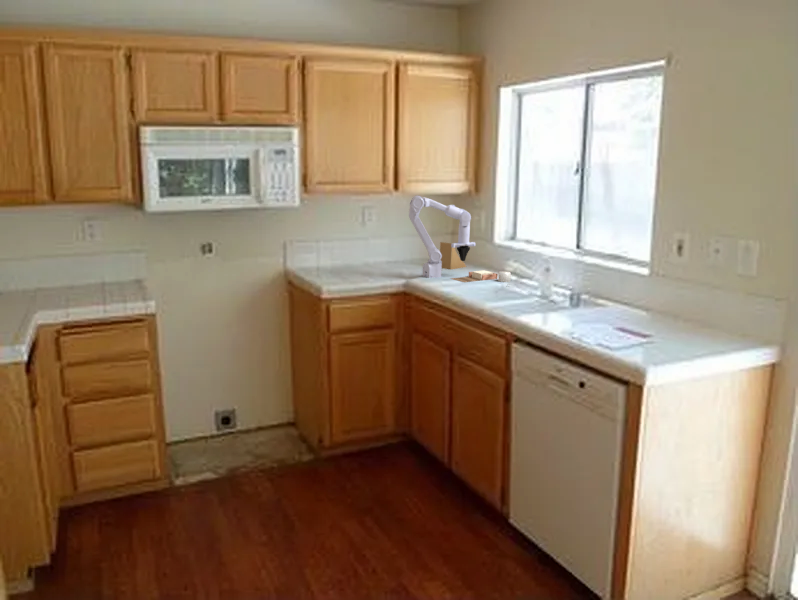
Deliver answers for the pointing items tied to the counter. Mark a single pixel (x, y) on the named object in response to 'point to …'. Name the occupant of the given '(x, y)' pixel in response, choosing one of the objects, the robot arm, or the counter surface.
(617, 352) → the counter surface
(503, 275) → the grey rounded piece
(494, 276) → the open-sided wooden box
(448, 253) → the sandwich container
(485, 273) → the carton
